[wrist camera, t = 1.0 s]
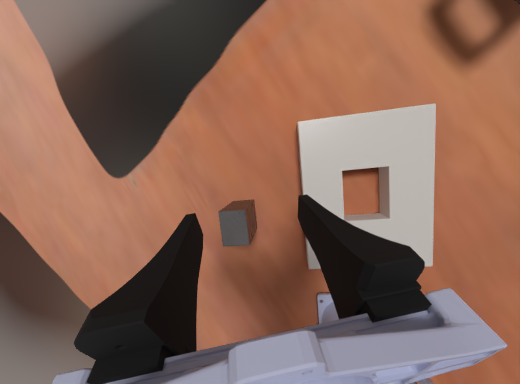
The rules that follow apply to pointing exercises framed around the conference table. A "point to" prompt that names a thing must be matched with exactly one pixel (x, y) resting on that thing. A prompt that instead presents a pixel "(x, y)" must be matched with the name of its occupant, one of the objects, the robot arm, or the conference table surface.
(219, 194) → the conference table surface
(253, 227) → the gray rectangular block
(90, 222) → the conference table surface
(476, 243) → the conference table surface
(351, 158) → the block
